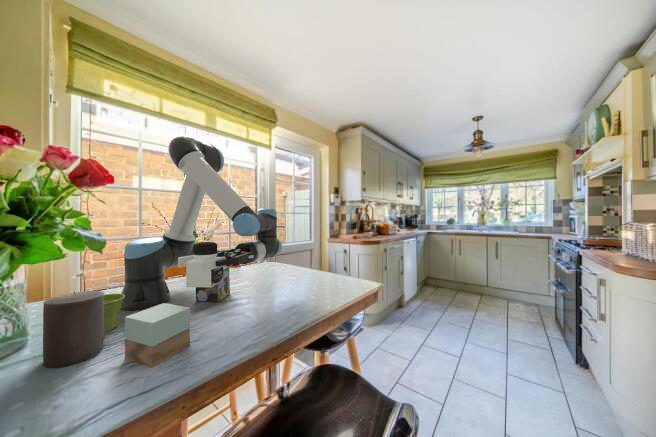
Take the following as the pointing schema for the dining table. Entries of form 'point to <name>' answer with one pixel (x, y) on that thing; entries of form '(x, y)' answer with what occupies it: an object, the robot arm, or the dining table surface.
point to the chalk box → (215, 289)
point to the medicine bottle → (195, 266)
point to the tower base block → (156, 349)
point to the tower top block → (157, 324)
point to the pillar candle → (72, 328)
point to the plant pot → (112, 310)
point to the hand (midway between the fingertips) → (191, 264)
